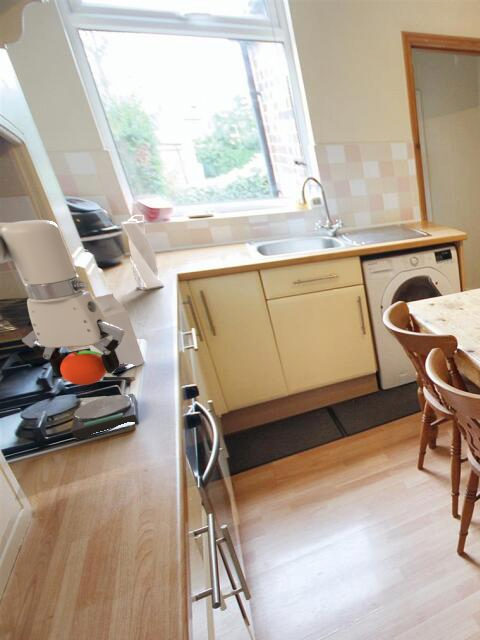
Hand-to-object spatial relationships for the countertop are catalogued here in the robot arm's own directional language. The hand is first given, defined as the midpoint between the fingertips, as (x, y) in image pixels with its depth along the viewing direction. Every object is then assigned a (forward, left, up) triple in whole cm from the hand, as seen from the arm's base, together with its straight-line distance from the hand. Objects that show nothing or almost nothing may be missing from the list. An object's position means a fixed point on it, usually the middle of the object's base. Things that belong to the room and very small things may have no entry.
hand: (89, 371), depth 94 cm
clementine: (0, 0, -3) cm, 3 cm away
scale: (0, -1, -11) cm, 11 cm away
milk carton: (-11, +27, -12) cm, 32 cm away
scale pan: (0, 0, -9) cm, 9 cm away
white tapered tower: (-38, +105, -12) cm, 112 cm away
